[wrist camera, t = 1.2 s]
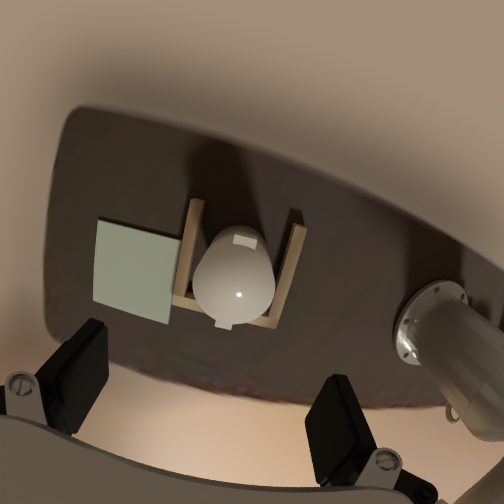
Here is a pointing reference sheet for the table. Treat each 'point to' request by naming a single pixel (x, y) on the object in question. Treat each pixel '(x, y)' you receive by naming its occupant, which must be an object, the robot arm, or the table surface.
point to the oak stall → (186, 259)
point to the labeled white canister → (235, 277)
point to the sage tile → (135, 270)
